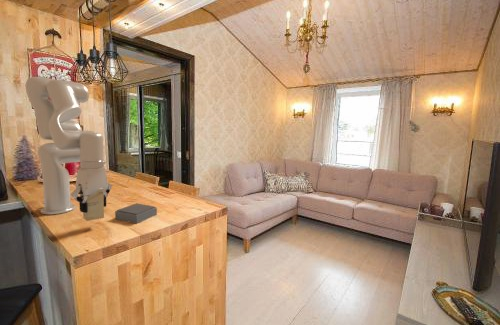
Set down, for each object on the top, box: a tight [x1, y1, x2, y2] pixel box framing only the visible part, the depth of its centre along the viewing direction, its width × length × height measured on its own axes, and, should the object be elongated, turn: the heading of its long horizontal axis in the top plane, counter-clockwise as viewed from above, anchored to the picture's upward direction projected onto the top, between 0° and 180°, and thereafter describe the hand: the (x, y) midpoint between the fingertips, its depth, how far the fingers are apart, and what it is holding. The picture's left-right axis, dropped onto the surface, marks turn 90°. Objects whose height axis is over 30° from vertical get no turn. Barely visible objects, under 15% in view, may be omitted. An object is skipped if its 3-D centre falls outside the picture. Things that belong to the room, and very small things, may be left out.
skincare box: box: [82, 188, 105, 222], centre depth 94 cm, size 6×4×12 cm
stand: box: [114, 202, 158, 225], centre depth 108 cm, size 12×12×4 cm
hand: (93, 208), depth 94 cm, fingers closed on skincare box, 7 cm apart
